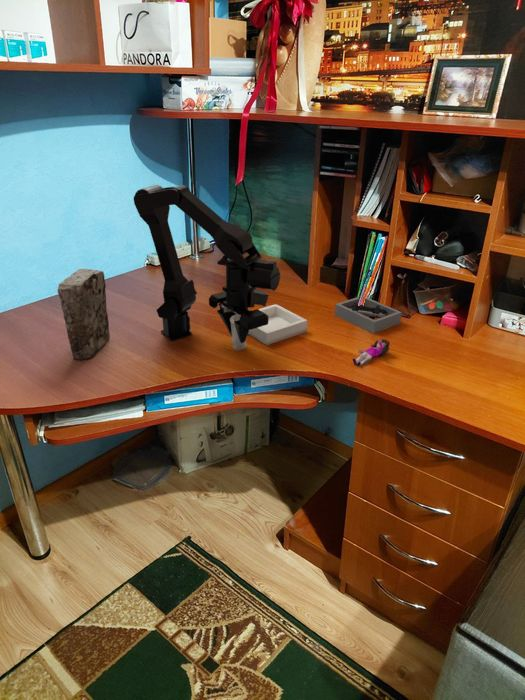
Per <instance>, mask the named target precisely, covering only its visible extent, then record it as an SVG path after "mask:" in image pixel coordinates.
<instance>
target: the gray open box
mask: <svg viewBox="0 0 525 700" xmlns="http://www.w3.org/2000/svg"><path fill="white" fill-rule="evenodd" d="M355 302H356V303H357V304H358V302H359V298H357V297H354V298H351V299H348V300H344V301H342V302H338V303H336V304H335V306H334V307H335V309H334V316H336V317H338V318H340V319H342V320H344V321H345V322H348V323H350V324H352V325H355V326H357V327H358V328H361V329H363V330H365V331H367V332H368V333H371V334H376V333H379V332H382V331H384V330H386V329H388V328H392V327H394V326H397V325H400V324H401V321H402V314H403V312H402V311H399V310H397V309H395V308H393V307H390V306H387V305H385V304H383V303H381V304H380V302H378V301H376V300H373V299H371V298H369V297H367V298H366V299H365V303H364V306H363V305H360V306H363V307H370V308H375V307H376V306H377V305H379V306H380V309H385V310H386V312H387V314H386V316H384V317H382V318H375V319H374V320H373V319H371V318H369V317H367V316H364V315H362V314H360V313H358V312H355V311H351V310H350V309H349V308H350V306H352V305H353V304H354V303H355Z"/></svg>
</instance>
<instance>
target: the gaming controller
mask: <svg viewBox="0 0 525 700" xmlns="http://www.w3.org/2000/svg"><path fill="white" fill-rule="evenodd" d="M349 309H350V310H351V311H355V312H358V313H360V314H362V315H364V316H367V317H369V318H371V319H373V320H376V319H379V318H382V317H384V316H386V314H387V312H386V310H385V309H380V306H379V305H377V306H376V307H375V308H370V307H363V306H358V304H357V303H356V302H355V303H354V304H353V305H352V306H350V308H349Z"/></svg>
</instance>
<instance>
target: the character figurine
mask: <svg viewBox="0 0 525 700" xmlns="http://www.w3.org/2000/svg"><path fill="white" fill-rule="evenodd" d="M390 343H391V342H390V341H389V340H388V339H385V338H382V339H381V338H380V339H377V340H376V341H375V342H374V344H371V347H369V348H367V349H366V350H363V349H358V353H359V354H360V355H359V356H358V357H357V358H355V357H353V358H352V362H353V365H356V366H357V367H358V368H359V367H361V366H363V365H365V364H366V363H368V362H369V361H371V360H372V359H373V358H374V357H383V356H384V355H386V354H387V353H388V352H389V350H390V345H391V344H390Z"/></svg>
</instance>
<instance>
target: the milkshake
mask: <svg viewBox="0 0 525 700" xmlns="http://www.w3.org/2000/svg"><path fill="white" fill-rule="evenodd" d="M240 317H241V316H239V315H237V314H236V315H234V316H232V317H231V318H230V324H231V332H232V337H231V341H232V348H233V350H235V351H243V350H245V349H246V346H247V339H246V340H245V342H244V343H240V340H239V337H238V334H237V331H236V328H235V324H234V322H235V321H238V320H240Z"/></svg>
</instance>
